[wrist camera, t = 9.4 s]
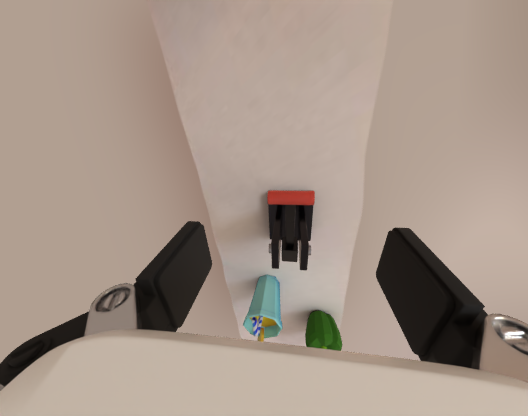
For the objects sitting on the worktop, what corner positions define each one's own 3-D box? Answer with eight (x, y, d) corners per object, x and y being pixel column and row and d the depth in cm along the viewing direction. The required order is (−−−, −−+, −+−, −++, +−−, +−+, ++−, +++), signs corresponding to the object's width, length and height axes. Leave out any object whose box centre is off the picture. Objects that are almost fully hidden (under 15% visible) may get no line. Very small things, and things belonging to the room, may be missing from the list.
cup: (248, 257, 43) (229, 322, 30) (282, 257, 42) (278, 326, 29) (255, 298, 50) (242, 367, 36) (285, 300, 48) (283, 372, 35)
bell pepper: (328, 302, 47) (337, 348, 38) (341, 322, 50) (352, 368, 41) (297, 310, 50) (298, 354, 41) (311, 328, 52) (315, 373, 44)
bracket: (268, 191, 35) (258, 226, 25) (313, 191, 34) (322, 228, 24) (270, 235, 40) (262, 281, 29) (309, 237, 39) (316, 285, 28)
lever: (268, 185, 22) (266, 199, 20) (313, 185, 21) (315, 199, 19) (273, 247, 30) (272, 260, 29) (306, 248, 30) (306, 262, 28)
